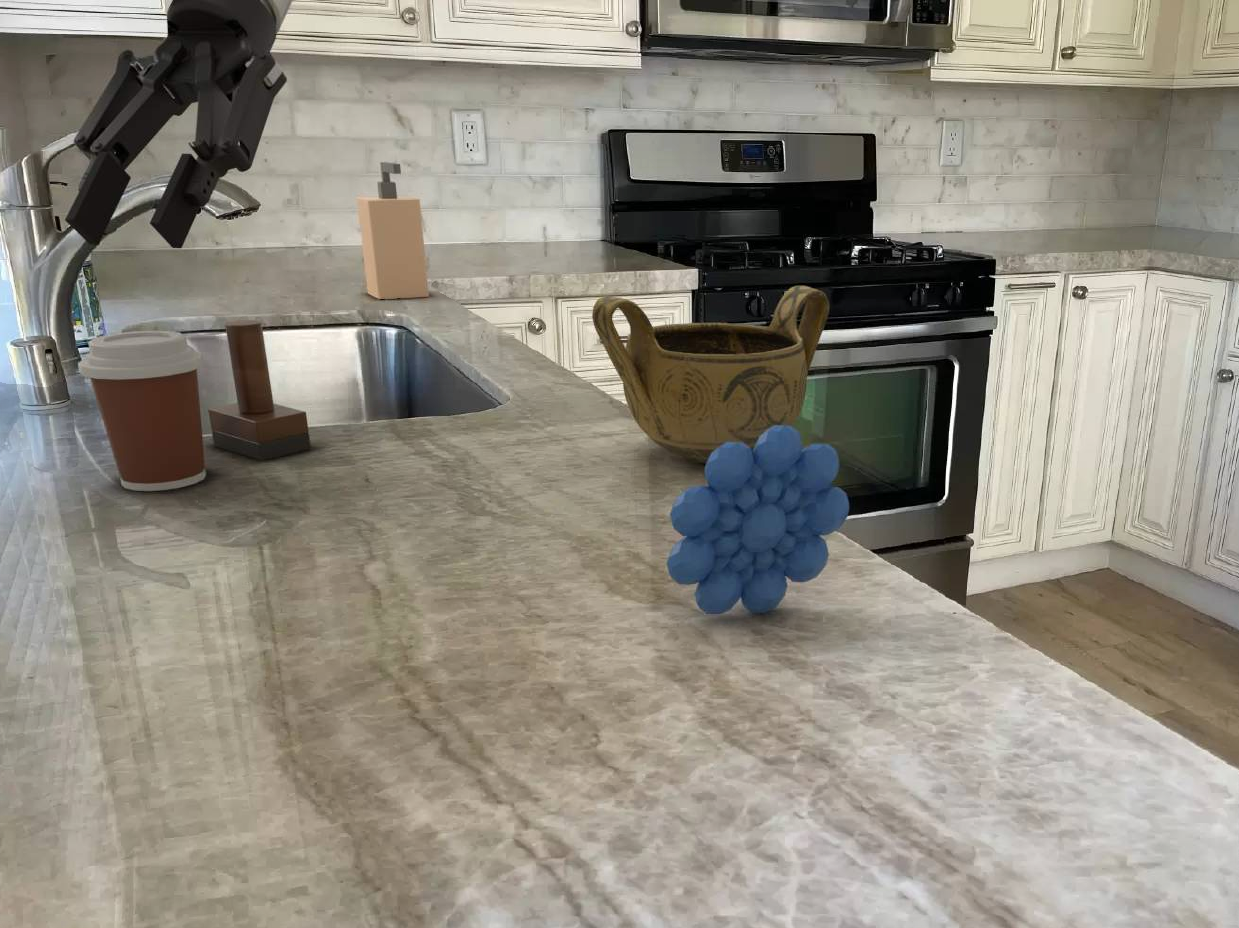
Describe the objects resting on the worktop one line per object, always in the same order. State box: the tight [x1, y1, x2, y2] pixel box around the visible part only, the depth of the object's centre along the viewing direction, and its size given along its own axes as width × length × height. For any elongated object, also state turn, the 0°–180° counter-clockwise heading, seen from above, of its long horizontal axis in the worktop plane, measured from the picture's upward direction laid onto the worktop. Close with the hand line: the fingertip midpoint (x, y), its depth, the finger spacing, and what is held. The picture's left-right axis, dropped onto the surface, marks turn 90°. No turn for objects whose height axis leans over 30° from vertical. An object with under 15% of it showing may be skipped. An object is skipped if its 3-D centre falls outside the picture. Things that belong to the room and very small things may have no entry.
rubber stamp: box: [207, 319, 312, 462], centre depth 103 cm, size 8×5×12 cm, turn 53°
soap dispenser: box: [356, 161, 430, 300], centre depth 192 cm, size 13×9×22 cm
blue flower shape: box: [666, 425, 851, 616], centre depth 69 cm, size 12×7×12 cm, turn 108°
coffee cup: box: [77, 330, 207, 492], centre depth 93 cm, size 9×9×12 cm
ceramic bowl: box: [591, 285, 830, 464], centre depth 102 cm, size 22×17×15 cm
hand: (123, 233), depth 83 cm, fingers open, 6 cm apart
